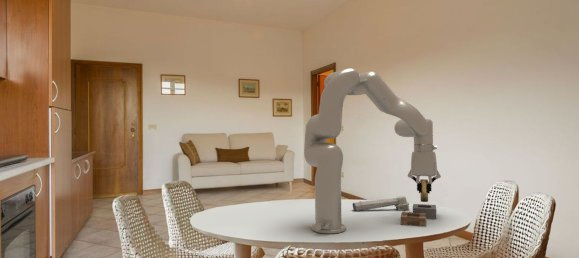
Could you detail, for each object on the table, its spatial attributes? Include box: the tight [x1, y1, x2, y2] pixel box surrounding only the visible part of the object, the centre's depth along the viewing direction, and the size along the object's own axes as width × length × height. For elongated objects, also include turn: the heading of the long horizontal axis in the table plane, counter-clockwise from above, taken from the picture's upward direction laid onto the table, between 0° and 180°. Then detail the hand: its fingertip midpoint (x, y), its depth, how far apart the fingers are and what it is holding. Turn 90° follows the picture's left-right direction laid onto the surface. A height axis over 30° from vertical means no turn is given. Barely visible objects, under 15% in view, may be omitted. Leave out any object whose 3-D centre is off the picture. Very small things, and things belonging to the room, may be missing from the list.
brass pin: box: [419, 178, 429, 203], centre depth 153 cm, size 3×3×9 cm
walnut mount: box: [400, 211, 427, 227], centre depth 142 cm, size 9×9×3 cm
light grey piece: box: [352, 195, 410, 212], centre depth 165 cm, size 5×7×25 cm
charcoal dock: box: [412, 203, 437, 220], centre depth 153 cm, size 9×9×4 cm
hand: (424, 192), depth 153 cm, fingers closed on brass pin, 3 cm apart
